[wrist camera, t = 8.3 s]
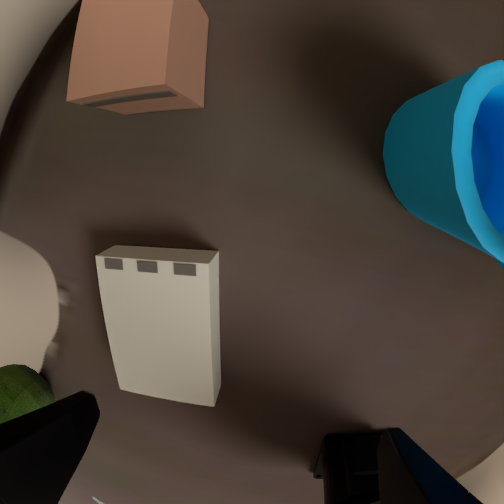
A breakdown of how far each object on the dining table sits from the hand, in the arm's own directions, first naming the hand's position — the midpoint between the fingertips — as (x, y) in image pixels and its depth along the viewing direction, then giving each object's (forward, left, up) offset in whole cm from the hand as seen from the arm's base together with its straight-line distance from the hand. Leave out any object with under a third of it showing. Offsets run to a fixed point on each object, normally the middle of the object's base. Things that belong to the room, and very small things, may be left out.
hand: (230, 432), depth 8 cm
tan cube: (+13, +6, -12) cm, 19 cm away
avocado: (-13, +22, -12) cm, 28 cm away
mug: (+7, -12, -12) cm, 18 cm away
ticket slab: (-3, +6, -12) cm, 13 cm away
